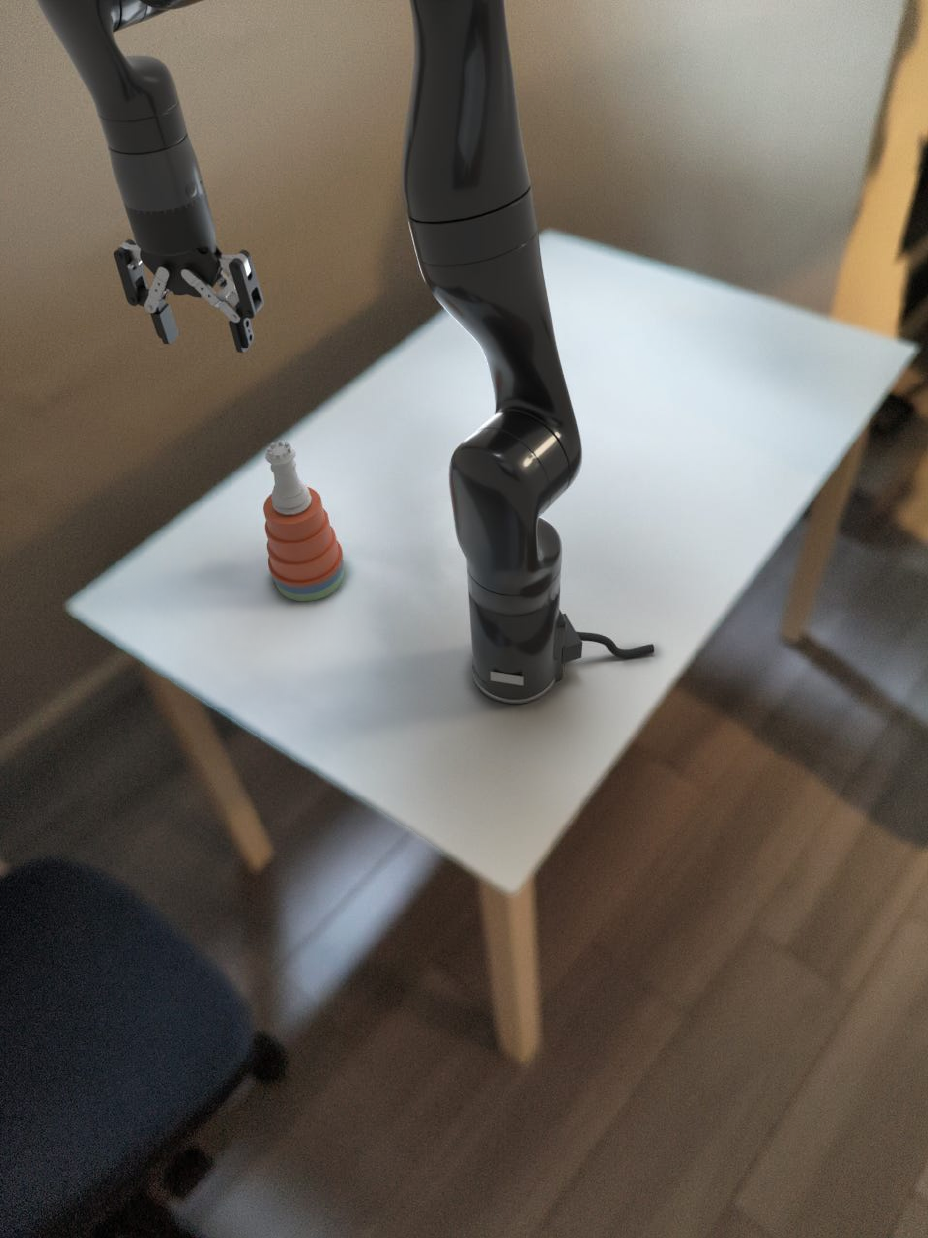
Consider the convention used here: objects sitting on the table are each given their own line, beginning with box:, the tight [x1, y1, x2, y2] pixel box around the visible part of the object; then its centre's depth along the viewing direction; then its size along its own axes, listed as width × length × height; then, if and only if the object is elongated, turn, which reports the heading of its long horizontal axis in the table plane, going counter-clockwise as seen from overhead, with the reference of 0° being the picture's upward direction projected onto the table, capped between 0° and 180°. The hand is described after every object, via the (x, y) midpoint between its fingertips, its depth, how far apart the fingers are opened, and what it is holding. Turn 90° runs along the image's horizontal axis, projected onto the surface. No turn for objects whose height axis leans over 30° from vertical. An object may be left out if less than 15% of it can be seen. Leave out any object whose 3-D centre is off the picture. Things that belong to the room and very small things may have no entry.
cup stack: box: [262, 486, 345, 602], centre depth 108 cm, size 9×9×12 cm
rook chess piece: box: [265, 440, 312, 515], centre depth 101 cm, size 4×4×8 cm
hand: (207, 344), depth 97 cm, fingers open, 8 cm apart
